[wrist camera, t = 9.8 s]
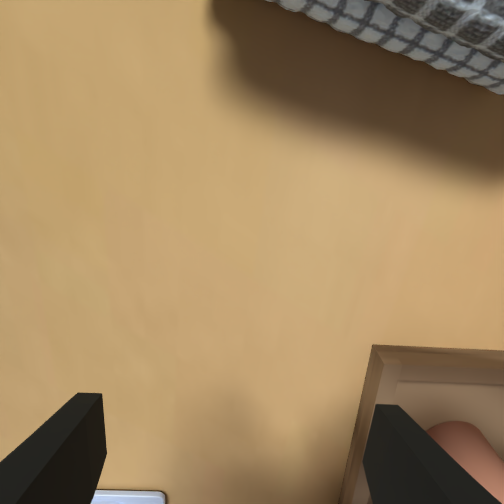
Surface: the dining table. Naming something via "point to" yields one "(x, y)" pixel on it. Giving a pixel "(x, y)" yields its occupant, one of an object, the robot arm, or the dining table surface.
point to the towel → (424, 31)
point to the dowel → (472, 454)
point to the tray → (427, 398)
